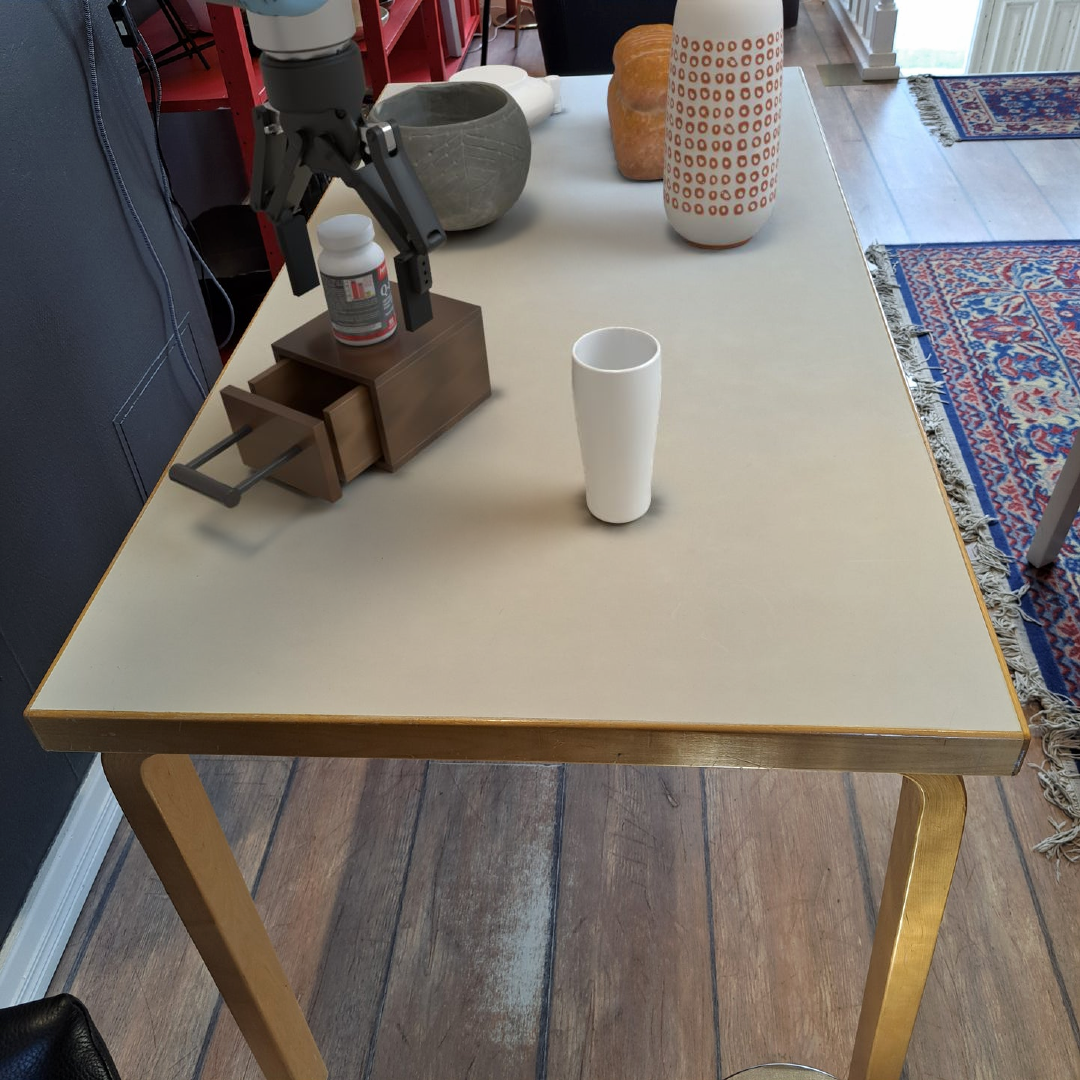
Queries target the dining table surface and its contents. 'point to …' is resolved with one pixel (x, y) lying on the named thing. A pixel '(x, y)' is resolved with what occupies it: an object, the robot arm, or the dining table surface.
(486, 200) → the bowl
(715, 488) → the dining table surface
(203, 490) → the drawer
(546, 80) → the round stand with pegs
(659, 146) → the bread
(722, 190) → the white patterned vase
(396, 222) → the robot arm
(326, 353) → the cabinet
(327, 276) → the pill bottle
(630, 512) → the drinking glass
